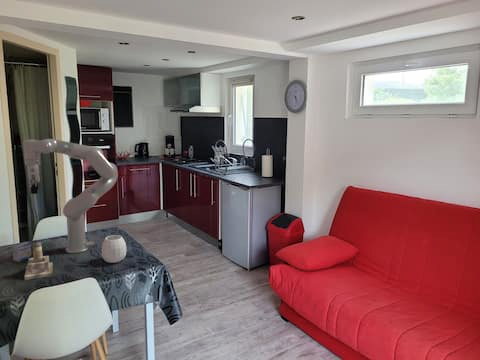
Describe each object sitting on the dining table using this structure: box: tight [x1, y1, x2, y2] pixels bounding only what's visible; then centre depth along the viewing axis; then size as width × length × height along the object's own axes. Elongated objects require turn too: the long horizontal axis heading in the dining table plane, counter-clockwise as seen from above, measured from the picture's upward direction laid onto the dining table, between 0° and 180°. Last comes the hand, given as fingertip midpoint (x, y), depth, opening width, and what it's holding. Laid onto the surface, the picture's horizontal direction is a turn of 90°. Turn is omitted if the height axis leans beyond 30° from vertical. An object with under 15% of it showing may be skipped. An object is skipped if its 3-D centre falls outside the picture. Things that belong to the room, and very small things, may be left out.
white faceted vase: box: [101, 234, 127, 264], centre depth 198 cm, size 13×13×14 cm
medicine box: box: [11, 241, 33, 263], centre depth 197 cm, size 8×4×9 cm, turn 160°
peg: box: [31, 241, 43, 263], centre depth 181 cm, size 4×4×14 cm
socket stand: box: [24, 255, 54, 281], centre depth 182 cm, size 12×14×6 cm
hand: (34, 191), depth 200 cm, fingers open, 9 cm apart
